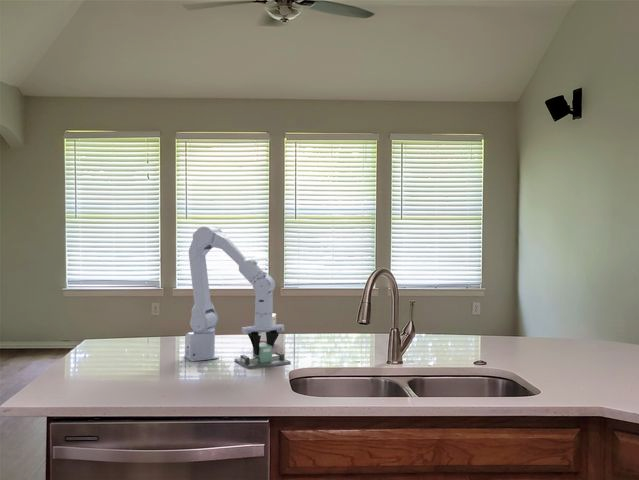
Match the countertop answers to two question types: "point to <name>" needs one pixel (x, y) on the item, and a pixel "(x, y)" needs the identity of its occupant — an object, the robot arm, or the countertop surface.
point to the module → (264, 352)
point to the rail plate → (254, 362)
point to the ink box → (263, 334)
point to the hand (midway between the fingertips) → (262, 354)
